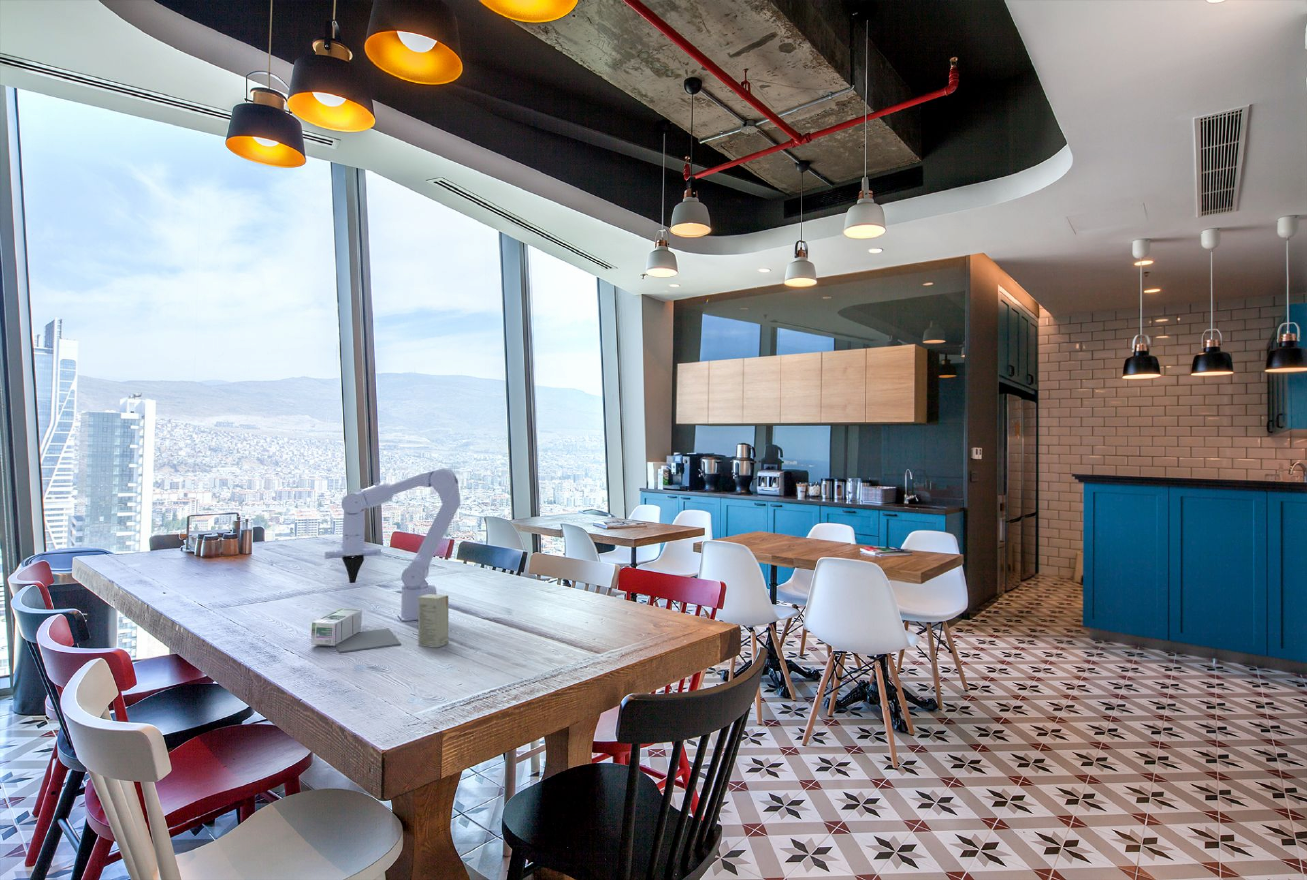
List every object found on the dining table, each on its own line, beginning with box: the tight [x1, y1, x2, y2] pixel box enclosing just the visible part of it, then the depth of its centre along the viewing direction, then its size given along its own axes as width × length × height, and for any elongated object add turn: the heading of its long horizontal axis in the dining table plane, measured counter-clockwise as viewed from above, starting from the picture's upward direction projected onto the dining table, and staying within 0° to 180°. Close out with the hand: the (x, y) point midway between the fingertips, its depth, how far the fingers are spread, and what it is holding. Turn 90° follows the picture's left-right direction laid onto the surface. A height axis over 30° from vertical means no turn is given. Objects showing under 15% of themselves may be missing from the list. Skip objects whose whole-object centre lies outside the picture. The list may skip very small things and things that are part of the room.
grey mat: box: [334, 627, 402, 654], centre depth 167 cm, size 14×16×1 cm
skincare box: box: [417, 593, 449, 648], centre depth 165 cm, size 6×4×12 cm
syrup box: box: [310, 608, 363, 647], centre depth 168 cm, size 6×6×14 cm
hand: (352, 582), depth 188 cm, fingers closed
